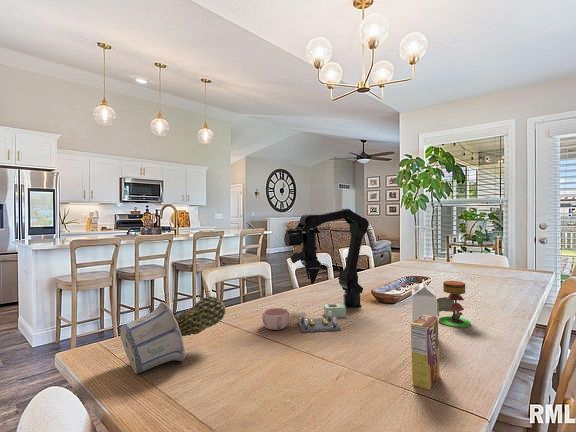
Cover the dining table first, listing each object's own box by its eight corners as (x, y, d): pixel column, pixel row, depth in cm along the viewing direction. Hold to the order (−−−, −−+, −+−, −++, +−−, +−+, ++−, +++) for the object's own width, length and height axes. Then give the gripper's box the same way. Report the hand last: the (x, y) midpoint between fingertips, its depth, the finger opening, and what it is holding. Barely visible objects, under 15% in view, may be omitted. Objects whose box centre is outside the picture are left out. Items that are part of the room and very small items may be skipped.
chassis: (333, 320, 129) (333, 309, 129) (340, 330, 118) (340, 319, 118) (297, 321, 128) (297, 311, 128) (301, 332, 117) (301, 321, 117)
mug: (293, 329, 120) (293, 313, 120) (267, 334, 116) (267, 317, 116) (281, 319, 131) (281, 304, 131) (257, 323, 127) (257, 308, 127)
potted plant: (125, 331, 81) (229, 283, 100) (109, 317, 95) (204, 277, 113) (146, 395, 83) (244, 336, 102) (128, 372, 97) (217, 324, 116)
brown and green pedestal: (476, 321, 125) (476, 281, 125) (467, 330, 116) (466, 287, 115) (443, 314, 133) (443, 277, 133) (432, 323, 124) (431, 283, 124)
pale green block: (343, 313, 138) (343, 302, 138) (346, 317, 133) (345, 306, 133) (324, 314, 137) (324, 303, 137) (326, 318, 132) (325, 306, 132)
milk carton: (434, 335, 112) (434, 279, 111) (436, 344, 105) (436, 284, 105) (412, 333, 114) (411, 278, 114) (412, 341, 107) (412, 283, 107)
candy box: (422, 370, 88) (422, 313, 88) (440, 376, 85) (439, 317, 85) (410, 384, 81) (410, 323, 81) (429, 390, 79) (428, 326, 78)
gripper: (288, 242, 148) (289, 277, 149) (292, 248, 130) (293, 287, 130) (313, 241, 149) (314, 276, 150) (320, 246, 130) (321, 286, 131)
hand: (310, 281), depth 140 cm, fingers open, 9 cm apart
